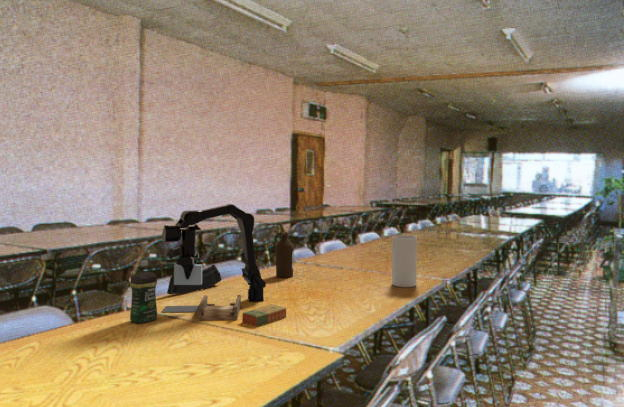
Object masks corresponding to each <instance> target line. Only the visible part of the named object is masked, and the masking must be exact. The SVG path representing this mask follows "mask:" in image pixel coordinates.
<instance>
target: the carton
mask: <svg viewBox="0 0 624 407" xmlns="http://www.w3.org/2000/svg"><path fill="white" fill-rule="evenodd" d="M285 318H287V308H286V307H284V306H280V305H277V304H268V305H265V306H262V307H258V308H255V309H252V310H249V311H245V312H242V319H241V320H242V321H241V322H242V323H243V322H244V324H246V323H247V325H250V324H251V325H250V326H253V325H254V327H260V325H261V326H263V324H264V325H266V323H267V324H269V323H273V322H275V321H276V322H277V321H279V320H282V319H285Z"/></svg>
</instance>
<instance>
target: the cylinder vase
mask: <svg viewBox="0 0 624 407" xmlns="http://www.w3.org/2000/svg"><path fill="white" fill-rule="evenodd" d="M391 237H392V239H391V240H392V241H391V242H392V244H391V246H392V248H391V251H392V252H391V254H392V255H391V284H392V285H393V286H395V287H398V288H399V287H400V288H413V287H416V285H417V280H418V278H417V275H418V271H417V269H418V268H417V267H418V266H417V264H418V236H416V235H415V236H414V235H405V234H404V235H399V234H398V235H392V236H391Z"/></svg>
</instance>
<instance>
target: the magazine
mask: <svg viewBox="0 0 624 407" xmlns="http://www.w3.org/2000/svg"><path fill="white" fill-rule="evenodd" d="M221 281H222V275H221V272H220V271H219V270H218V267H217V266H216V265H215V264H211V265H210V266H208V267H206V268H204V269H203V268H202V284H201V285H174V272H173V273H171V276H170V279H169V282H168V288H167V292H166V294H168V295H177V294H179V295H180V294H189V292H190V293H194V292H193V291H195V292H197V291H196V290H199V291H202V290H201V289H203V290H205V288H206V289H207V288H210V287H216V284H218V283H220V282H221Z"/></svg>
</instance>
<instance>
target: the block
mask: <svg viewBox="0 0 624 407" xmlns="http://www.w3.org/2000/svg"><path fill="white" fill-rule="evenodd" d="M202 270H203V264H202V263H201V264H197V263H196V264H194V267H193V270H192V272H191V275H190V278H189V279H186V277H185V273H184V269H183V267H182V266H181V265H177V263H176V264H174V267H173V273H174V285H201V284H202Z"/></svg>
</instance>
